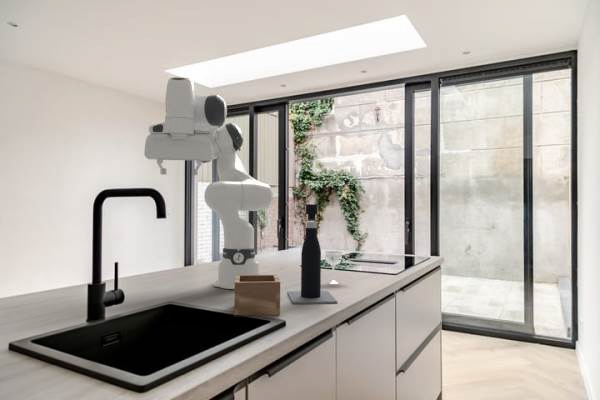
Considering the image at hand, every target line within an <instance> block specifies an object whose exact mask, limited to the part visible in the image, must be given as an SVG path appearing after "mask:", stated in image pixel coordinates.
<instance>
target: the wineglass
mask: <svg viewBox="0 0 600 400" xmlns="http://www.w3.org/2000/svg"><path fill="white" fill-rule="evenodd" d="M324 259H325V262H326V263H327V264H328V265H330V266H331V268H332V270H331V271H332V280H329V281H327V282H326V283H327V284H340V282H339V281H337V280H334V279H335V267H336V265H338V264H340V263H341V261H342V260H343V256H342V251H337V250H334V251H333V250H328V251H325V255H324Z"/></svg>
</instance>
